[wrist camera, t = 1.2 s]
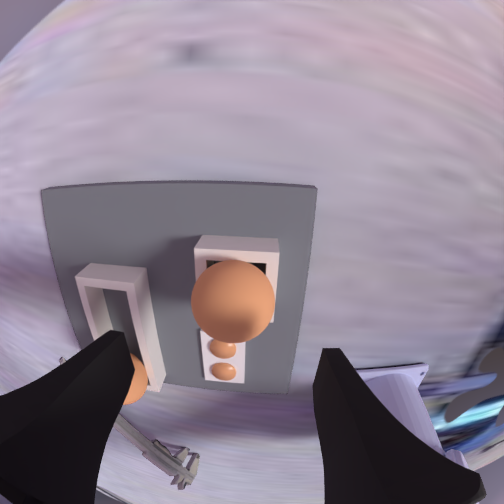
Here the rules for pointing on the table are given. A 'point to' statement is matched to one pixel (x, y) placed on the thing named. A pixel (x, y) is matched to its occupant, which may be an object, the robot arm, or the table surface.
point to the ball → (233, 301)
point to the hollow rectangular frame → (140, 307)
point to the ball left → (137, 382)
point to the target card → (223, 360)
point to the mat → (184, 262)
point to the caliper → (159, 453)
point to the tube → (238, 254)
